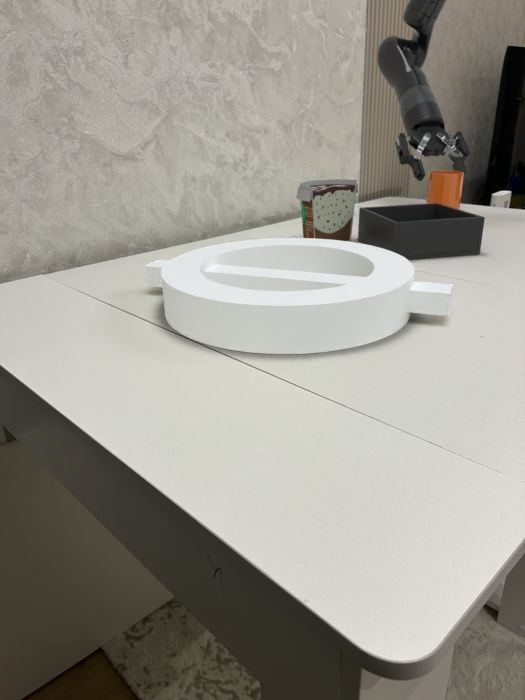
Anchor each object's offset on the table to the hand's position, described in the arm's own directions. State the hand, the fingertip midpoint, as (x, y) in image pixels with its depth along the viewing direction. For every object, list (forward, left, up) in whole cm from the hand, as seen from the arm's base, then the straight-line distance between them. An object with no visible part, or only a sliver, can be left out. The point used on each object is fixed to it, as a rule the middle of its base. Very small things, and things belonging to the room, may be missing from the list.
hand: (441, 177), depth 108 cm
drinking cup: (0, +1, -8) cm, 8 cm away
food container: (+30, +15, -8) cm, 35 cm away
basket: (+16, +22, -8) cm, 29 cm away
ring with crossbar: (+43, +44, -8) cm, 62 cm away
